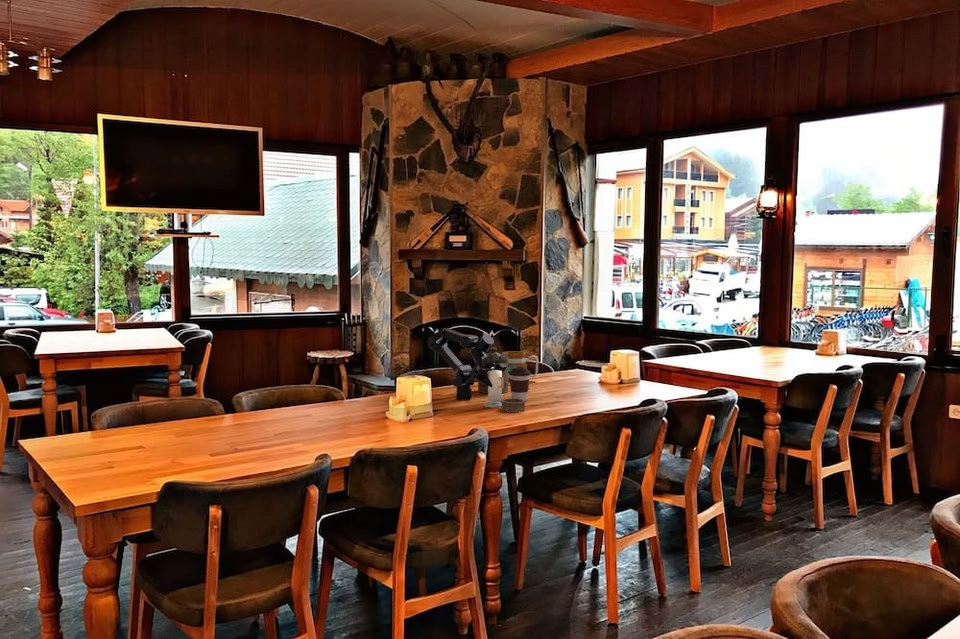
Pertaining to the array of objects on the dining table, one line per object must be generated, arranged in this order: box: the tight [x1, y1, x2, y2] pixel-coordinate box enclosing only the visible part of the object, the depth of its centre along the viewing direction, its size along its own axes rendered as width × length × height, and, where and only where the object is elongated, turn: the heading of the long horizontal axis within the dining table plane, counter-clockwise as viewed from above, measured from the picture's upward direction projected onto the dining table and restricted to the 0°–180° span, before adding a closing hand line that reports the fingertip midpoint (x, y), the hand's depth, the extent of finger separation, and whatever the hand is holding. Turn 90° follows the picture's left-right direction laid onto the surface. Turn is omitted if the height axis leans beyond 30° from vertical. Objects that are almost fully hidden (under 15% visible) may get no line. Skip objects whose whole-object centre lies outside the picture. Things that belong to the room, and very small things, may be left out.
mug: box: [501, 350, 539, 383], centre depth 406 cm, size 20×14×15 cm
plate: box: [483, 401, 501, 409], centre depth 339 cm, size 10×10×1 cm
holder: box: [500, 397, 526, 413], centre depth 331 cm, size 10×10×4 cm
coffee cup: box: [509, 367, 531, 401], centre depth 352 cm, size 10×10×15 cm
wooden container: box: [477, 346, 509, 394], centre depth 375 cm, size 15×15×22 cm
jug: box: [487, 370, 504, 402], centre depth 338 cm, size 8×6×13 cm
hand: (497, 386), depth 338 cm, fingers closed on jug, 6 cm apart
